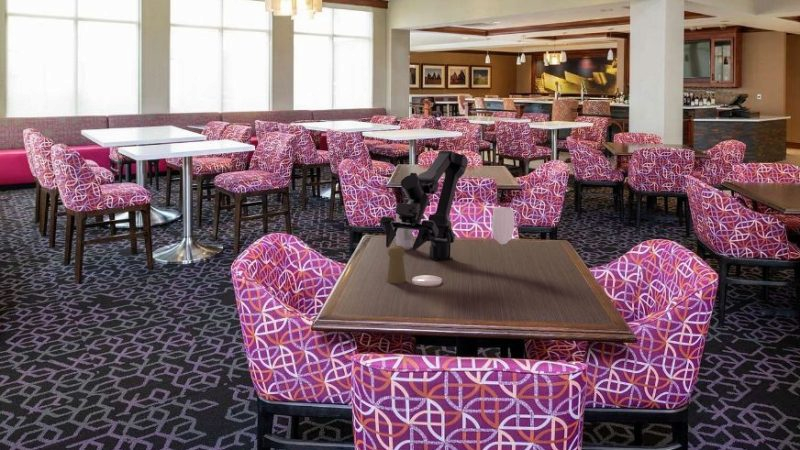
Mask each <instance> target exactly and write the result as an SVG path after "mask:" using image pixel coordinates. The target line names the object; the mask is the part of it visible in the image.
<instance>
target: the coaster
mask: <svg viewBox="0 0 800 450" xmlns="http://www.w3.org/2000/svg"><path fill="white" fill-rule="evenodd" d="M442 280H443V278H441V277H439V276H436V275H425V274H423V275H418V276H417V275H416V276H413V277H412V282H411V283H412V284H413V285H415V286H419V287H437V286H439V285H440V286H441V284H442V283H443V281H442Z"/></svg>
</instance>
